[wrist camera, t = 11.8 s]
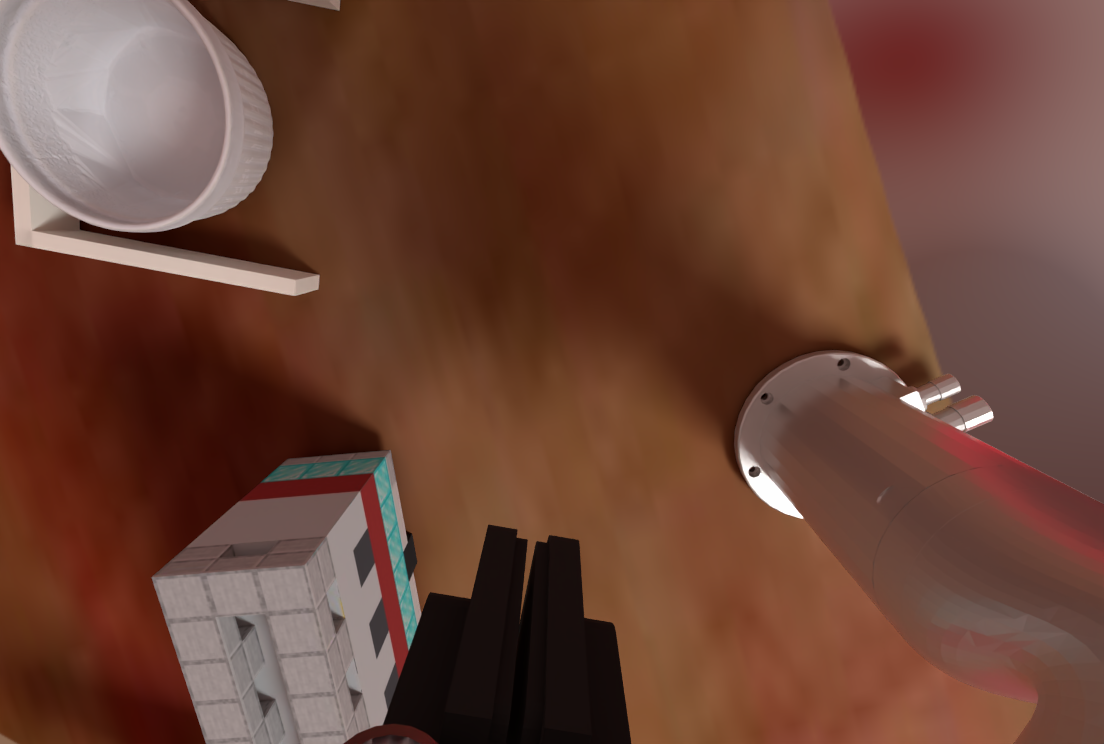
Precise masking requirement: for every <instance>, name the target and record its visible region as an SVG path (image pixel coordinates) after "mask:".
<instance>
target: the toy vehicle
mask: <svg viewBox="0 0 1104 744" xmlns="http://www.w3.org/2000/svg"><path fill="white" fill-rule="evenodd" d="M416 564H417V558H416V553H415V547H414V542H413V536H412V534H406V530H405V525H404V520H403V514H402V509H401V504H400V498H399V493H398V487H397V482H396V477H395V471H394V466H393V461H392V455H391V450H384V451H372V452H361V453H349V454H338V455H326V456H315V457H303V458H292V459H287V460H286V461H285V462H284V463H282V464H281V465H280V466H279V467H278V468H277V469H275V470H274V471H273V472H272V473H271V474H270V475H269V476H267V477H266V478H265V479H264V480H263V481H262V482H261V483H259V484H258V485H257V486H256V487H255V488H254V489H252V490H251V491H250V492H249V493H248V494H247V495H246V496H244V497H243V498H242V499H241V500H240V501H239V502H238V503H236V504H235V505H234V506H233V507H232V508H231V509H230V510H228V511H227V512H226V513H225V514H224V515H223V516H221V517H220V518H219V519H218V520H217V521H216V522H215V523H213V524H212V525H211V526H210V527H209V528H208V529H207V530H205V531H204V532H203V533H202V534H201V535H200V536H198V537H197V538H196V539H195V540H194V541H193V542H192V543H190V544H189V545H188V546H187V547H186V548H185V549H184V550H182V551H181V552H180V553H179V554H178V555H177V556H176V557H174V558H173V559H172V560H171V561H170V562H169V563H167V564H166V565H165V566H164V567H163V568H162V569H161V570H159V571H158V572H157V573H156V574H155V575H154V576H153V577H152V580H153V583H154V586H155V589H156V592H157V595H158V598H159V602H160V605H161V608H162V611H163V614H164V617H165V620H166V623H167V626H168V629H169V632H170V635H171V638H172V641H173V644H174V647H175V650H176V653H177V656H178V659H179V662H180V665H181V669H182V672H183V675H184V678H185V681H186V684H187V687H188V690H189V693H190V696H191V699H192V702H193V705H194V708H195V711H196V714H197V717H198V720H199V723H200V726H201V729H202V732H203V735H204V739H205V742H206V744H344V743H345V742H346V741H348V740H349V739H350V738H352V737H353V736H354V735H356V734H357V733H359V732H362V731H364V730H367V729H369V728H372V727H374V726H380V725H383V723H384V720H385V717H386V714H387V711H388V708H389V706H390V703H391V700H392V697H393V694H394V691H395V688H396V686H397V683H398V680H399V677H400V674H401V671H402V668H403V666H404V663H405V660H406V657H407V654H408V651H409V649H410V646H411V643H412V640H413V637H414V634H415V631H416V629H417V626H418V623H419V620H420V617H421V611H420V605H419V600H418V595H417V589H416V584H415V578H414V573H413V571H414V569H415V566H416Z"/></svg>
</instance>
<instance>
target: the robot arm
mask: <svg viewBox="0 0 1104 744" xmlns="http://www.w3.org/2000/svg"><path fill="white" fill-rule="evenodd" d="M839 360H841V362H840V363H839V364H838V362H839ZM960 391H961V389H960V384H959V383H958V381H957V379H956V378H955V377H954V376H952V375H951V374H945V375H943V376H941V377H938V378H936V379H934V380H931V381H929V382H928V383H927V384H925V385H922V386H920V387H918V388H915V387H913V386H910V387H907V385H906V384H905V383H904V382H903V381H902V379H901V378H900V377H899V376H898V375H897V374H896V373H895V372H894V371H892V370H891V369H890V368H888V367H887V366H885V365H884V364H883V363H881V362H878V361H876V360H874V359H872V358H870V357H867V356H864V355H861V354H858V353H855V352H850V351H841V350H827V351H816V352H813V353H809V354H805V355H801V356H798V357H796V358H794V359H792V360H790V361H787V362H785V363H783V364H782V365H780V366H779V367H777V368H776V369H774V370H773V371H771V372H770V373H769V374H768V375H767V376H766V377H765V378H763V379H762V380H761V381H760V382H759V383H758V384H757V385H756V387H755V388H754V389H753V391H752V392H751V393H750V395H749V396H748V398H747V399H746V401H745V403H744V405H743V407H742V409H741V411H740V413H739V416H738V420H737V424H736V428H735V436H734V449H735V455H736V461H737V464H738V466H739V469H740V472H741V474H742V476H743V477H744V479H745V480H746V482H747V484H748V485H749V486H750V488H751V489H752V490H753V491H754V493H755V494H756V495H757V496H758V497H759V498H760V499H761V500H762V501H764V502H765V503H766V504H767V505H769V506H770V507H772V508H774V509H776V510H778V511H779V512H781V513H783V514H786V515H790V516H793V517H797V518H801V519H805V521H806V522H807V523H808V524H809V525H810V527H811V528H812V529H813V530H814V531H815V533H816V534H817V535H818V536H819V538H820V539H821V540H822V541H823V542H824V544H825V545H826V546H827V547H828V548H829V550H830V551H831V552H832V553H833V554H834V556H835V557H836V558H837V559H838V560H839V562H840V563H841V564H842V565H843V567H844V568H845V569H846V570H847V571H848V573H849V574H850V575H851V576H852V577H853V579H854V580H855V581H856V582H857V583H858V585H859V586H860V587H861V588H862V589H863V591H864V592H865V593H866V594H867V595H868V597H869V598H870V599H871V600H872V602H873V603H874V604H875V605H876V606H877V608H878V609H879V610H880V611H881V612H882V614H883V615H884V616H885V617H886V618H887V619H888V620H889V621H890V623H891V624H892V625H893V626H894V627H895V629H896V630H897V631H898V632H899V633H900V635H901V636H902V637H903V638H904V639H905V640H906V641H907V643H908V644H909V645H910V646H911V647H912V648H913V649H914V650H915V651H916V652H917V653H919V654H920V655H921V656H922V657H923V658H924V659H926V660H927V661H928V662H929V663H931V664H932V665H933V666H935V667H936V668H938V669H939V670H941V671H943V672H944V673H946V674H948V675H949V676H951V677H953V678H955V679H957V680H959V681H961V682H963V683H965V684H968V685H970V686H973V687H976V688H979V689H981V690H984V691H987V692H990V693H993V694H997V695H1000V696H1004V697H1008V698H1012V699H1017V700H1021V701H1026V702H1030V703H1036V704H1037V707H1036V709H1035V711H1034V714H1033V716H1032V718H1031V720H1030V721H1029V723H1028V724H1027V725H1026V727H1025V728H1024V730H1023V731H1022V733H1021V734H1020V735H1019V737H1018V738H1017V740H1016V741H1015V742H1014V743H1013V744H1104V504H1103V503H1101V502H1099V501H1097V500H1095V499H1093V498H1091V497H1089V496H1087V495H1085V494H1083V493H1081V492H1080V491H1077V490H1076V489H1073V488H1071V487H1070V486H1068V485H1066V484H1064V483H1062V482H1060V481H1058V480H1056V479H1054V478H1052V477H1050V476H1048V475H1046V474H1044V473H1042V472H1040V471H1038V470H1037V469H1034V468H1033V467H1031V466H1029V465H1027V464H1025V463H1023V462H1021V461H1019V460H1017V459H1015V458H1013V457H1011V456H1009V455H1007V454H1005V453H1004V452H1002V451H1000V450H998V449H996V448H994V447H992V446H990V445H988V444H986V443H984V442H982V441H980V440H978V439H976V438H975V437H973V436H971V435H968V434H967V433H965V432H966V431H969V430H971V429H974V428H976V427H978V426H981V425H983V424H985V423H988V422H990V421H992V419H993V414H992V410H991V409H990V407H989V405H988V404H987V403H986V402H985V401H984V400H983V399H982V398H980V397H979V396H976V395H972V396H970V397H968V398H965V399H963V400H961V401H958V402H956V403H954V404H951V405H949V406H947V407H946V408H945V409H943V410H941V411H938V412H936V413H934V414H930V413H928V412H926V411H925V410H926V409H927V405H928V404H931V403H933V402H935V401H938V400H943V399H945V398H947V397H950V396H952V395H954V394H957V393H959V392H960ZM764 393H766V395H765V397H764V398H761V396H762V395H763V394H764ZM751 467H753V468H752V469H750V468H751ZM516 537H517V529H511V528H505V527H499V526H494V525H488V528H487V532H486V537H485V541H484V545H483V550H482V554H481V558H480V562H479V567H478V571H477V575H476V580H475V584H474V588H473V592H472V597H471V599H467V598H461V597H455V596H449V595H443V594H437V593H431V592H430V594H429V595H428V598H427V600H426V603H425V606H424V609H423V611H422V614H421V617H420V620H419V623H418V626H417V629H416V631H415V634H414V637H413V640H412V643H411V646H410V649H409V651H408V654H407V657H406V660H405V663H404V666H403V668H402V671H401V674H400V677H399V680H398V683H397V686H396V688H395V691H394V694H393V697H392V700H391V703H390V706H389V708H388V711H387V714H386V717H385V720H384V723H383V725H380V726H374V727H372V728H369V729H367V730H364V731H362V732H359V733H357V734H356V735H354V736H353V737H352V738H350V739H349V740H348V741H346V742H345V743H344V744H631V738H630V731H629V724H628V716H627V709H626V702H625V695H624V688H623V681H622V673H621V666H620V659H619V652H618V645H617V637H616V631H615V627H614V625H613V623H611V622H605V621H599V620H593V619H587V618H584V609H583V594H582V578H581V562H580V547H579V540H575V539H569V538H563V537H557V536H552V535H549V537H548V541H547V543H544V542H538V541H537V542H536V545H535V550H534V555H533V560H532V565H531V570H530V575H529V580H528V585H527V590H526V594H525V599H524V604H523V609H522V614H521V619H520V613H521V602H522V592H523V582H524V572H525V562H526V552H527V541H528V540H527V539H521V538H516ZM519 623H520V624H519Z"/></svg>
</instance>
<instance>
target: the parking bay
mask: <svg viewBox="0 0 1104 744" xmlns="http://www.w3.org/2000/svg"><path fill="white" fill-rule="evenodd" d="M289 1H294V2H299V3H304V4H309V5H314V6H318V7H323V8H328V9H333V10H338V11H340V0H289ZM11 178H12V193H13V209H14V224H15V239H16V244H17V245H23V246H28V247H33V248H39V249H44V250H50V251H55V252H60V253H66V254H71V255H77V256H82V257H87V258H93V259H98V260H104V261H109V262H114V263H120V264H125V265H131V266H136V267H141V268H147V269H152V270H157V271H163V272H168V273H174V274H179V275H184V276H190V277H195V278H201V279H206V280H211V281H217V282H222V283H228V284H233V285H238V286H244V287H249V288H255V289H260V290H265V291H271V292H276V293H282V294H287V295H292V296H296V295H300V294H304V293H307V292H311V291H314V290H318V289H319V276H320V275H318V274H313V273H307V272H302V271H297V270H291V269H286V268H280V267H275V266H270V265H264V264H259V263H254V262H248V261H243V260H238V259H232V258H227V257H222V256H216V255H211V254H206V253H200V252H195V251H190V250H184V249H179V248H174V247H168V246H163V245H157V244H152V243H147V242H141V241H136V240H131V239H125V238H120V237H115V236H109V235H104V234H99V233H93V232H88V231H83V230H80V220H79V219H77V218H75V217H73V216H71V215H69V214H67V213H66V212H64V211H62V210H60V209H59V208H57V207H55V206H54V205H53V204H51V203H50V202H49V201H47V200H46V199H45V198H44V197H42V196H41V195H40V194H39V193H37V192H36V191H35V190H34V189H33V188H32V187H31V186H30V185H29V184H28V183H27V182H26V181H25V180H24V179H23V178H22V177H21V176H20V175H19V174H18V172H17V171H16V170H15V169H14V168H13V166H12V165H11Z"/></svg>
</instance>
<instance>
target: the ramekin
mask: <svg viewBox="0 0 1104 744" xmlns="http://www.w3.org/2000/svg"><path fill="white" fill-rule="evenodd" d="M272 124H273V120H272V116H271V109H270V106H269V103H268V99H267V95H266V93H265V91H264V88H263V85H262V83H261V81H260V80H259V78H258V76H257V74H256V72H255V70H254V69H253V67H252V66H251V65H250V64H249V62H248V60H247V59H246V57H245V56H244V55H243V54H242V53H241V52H240V51H239V50H238V48H237V47H236V46H235V44H234V43H233V42H232V41H230V40H229V39H228V38H227V37H226V36H225V35H224V34H223V33H222V32H221V31H219V30H218V29H217V28H216V27H215V26H214V25H212V24H211V23H210V22H209V21H208V20H207V19H205V18H204V17H203V16H202V15H201V14H200V13H199V12H198V11H197V9H196V8H195V7H194V6H193V5H192V4H191V3H190V2H188V1H187V0H0V149H1V151H2V152H3V154H4V155H5V157H6V158H7V160H8V161H9V163H10V164H11V165H12V166H13V168H14V169H15V170H16V171H17V172H18V174H19V175H20V176H21V177H22V178H23V179H24V180H25V181H26V182H27V183H28V184H29V185H30V186H31V187H32V188H33V189H34V190H35V191H36V192H37V193H39V194H40V195H41V196H42V197H44V198H45V199H46V200H47V201H49V202H50V203H51V204H53V205H54V206H55V207H57V208H59V209H60V210H62V211H64V212H66V213H67V214H69V215H71V216H73V217H75V218H77V219H79V220H82V221H84V222H86V223H89V224H92V225H95V226H98V227H102V228H105V229H110V230H115V231H124V232H160V231H166V230H170V229H174V228H178V227H181V226H183V225H186V224H188V223H190V222H192V221H195V220H200V219H204V218H208V217H211V216H214V215H218V214H221V213H224V212H226V211H227V210H228V209H230V208H233V207H235V206H236V205H238V203H239V202H240V201H242V200H245V199H246V198H247V196H248V195H249V193H251V192H253V191H254V190H255V187H256V185H257V184H258V183H259V182H260V181H261V179H262V176H263V174H264V172H265V171H266V169H267V164H268V161H269V159H270V155H271V150H272V147H273V128H272Z"/></svg>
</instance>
